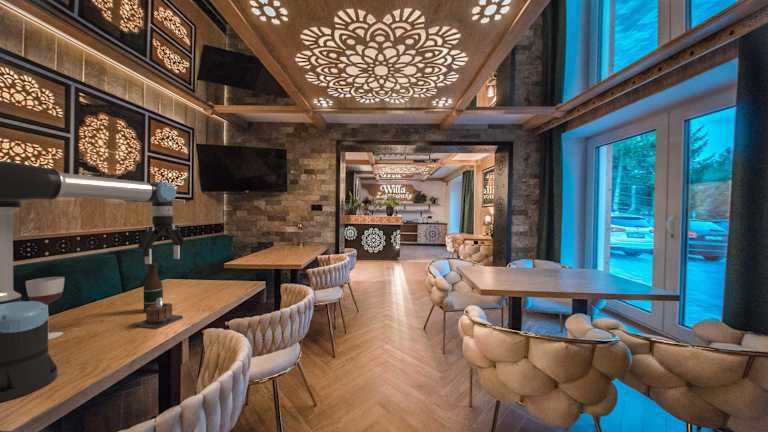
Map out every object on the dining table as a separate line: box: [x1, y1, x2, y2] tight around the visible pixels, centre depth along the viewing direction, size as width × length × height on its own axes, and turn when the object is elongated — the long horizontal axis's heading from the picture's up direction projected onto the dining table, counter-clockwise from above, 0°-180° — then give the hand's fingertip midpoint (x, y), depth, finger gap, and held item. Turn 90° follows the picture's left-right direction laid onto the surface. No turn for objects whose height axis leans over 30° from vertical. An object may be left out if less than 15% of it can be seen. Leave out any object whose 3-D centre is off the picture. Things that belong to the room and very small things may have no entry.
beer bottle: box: [143, 262, 164, 313], centre depth 143 cm, size 8×8×24 cm
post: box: [134, 297, 184, 330], centre depth 128 cm, size 12×12×11 cm
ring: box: [145, 302, 173, 321], centre depth 128 cm, size 9×9×5 cm
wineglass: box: [25, 276, 66, 340], centre depth 113 cm, size 9×10×23 cm
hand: (163, 261), depth 131 cm, fingers open, 13 cm apart
